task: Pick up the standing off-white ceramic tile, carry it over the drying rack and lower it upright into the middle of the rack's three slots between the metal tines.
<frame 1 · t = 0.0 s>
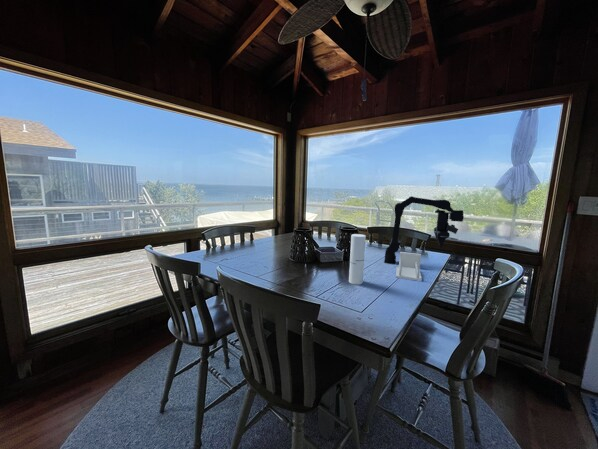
hand: (439, 245, 157), 15 cm above the table, fingers open, 9 cm apart
rack: (408, 274, 147), on the table
cylindrical container: (355, 282, 134), on the table
tile: (409, 267, 161), on the table
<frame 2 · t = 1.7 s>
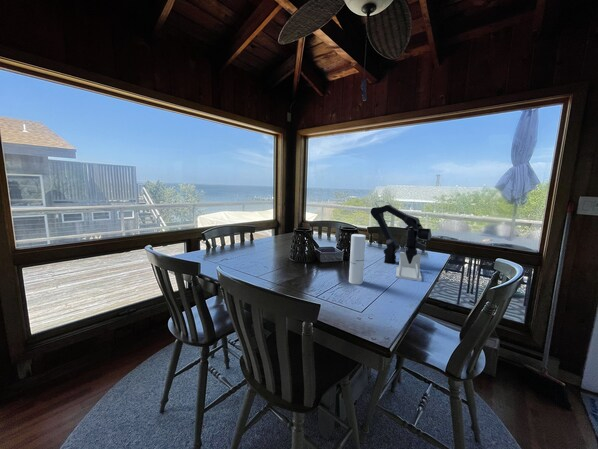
hand: (409, 261, 160), 3 cm above the table, fingers open, 9 cm apart
nothing on the table moved.
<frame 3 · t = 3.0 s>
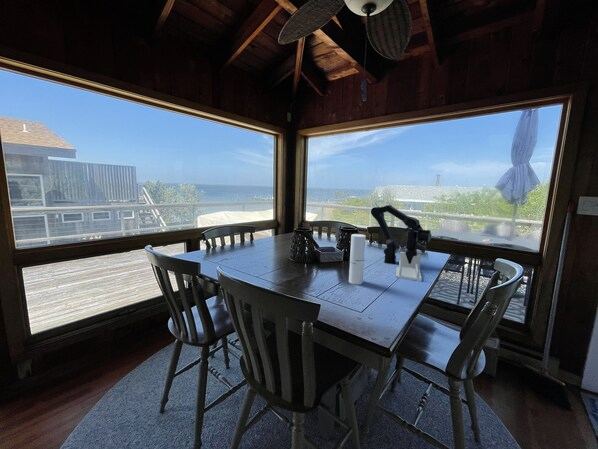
hand: (409, 263, 160), 3 cm above the table, fingers closed on tile, 2 cm apart
tile: (409, 266, 161), on the table, touching gripper
everything else where it was.
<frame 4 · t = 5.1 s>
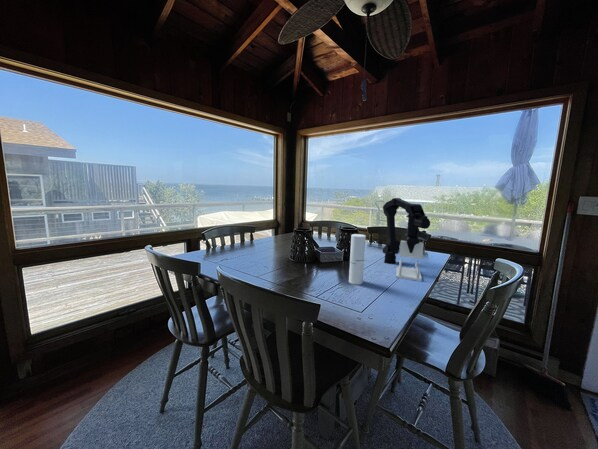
hand: (410, 252, 147), 12 cm above the table, fingers closed on tile, 2 cm apart
tile: (410, 257, 148), point 10 cm above the table, touching gripper
everything else where it was.
when the fingers open (5 cm above the table, at t = 7.1 s): tile drops 1 cm, resting on rack.
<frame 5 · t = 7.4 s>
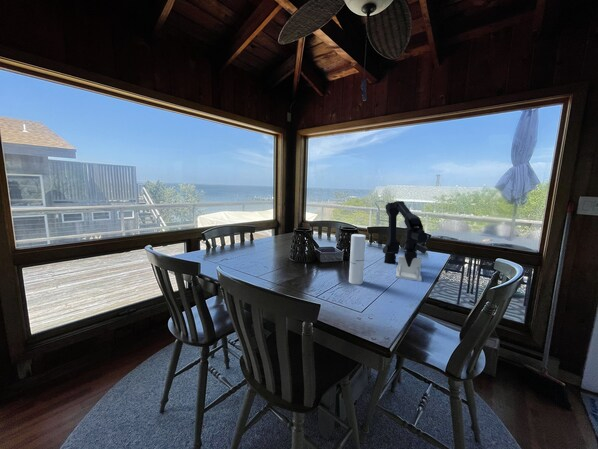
hand: (408, 265, 146), 5 cm above the table, fingers open, 5 cm apart
tile: (408, 272, 147), point 1 cm above the table, touching rack
everything else where it was.
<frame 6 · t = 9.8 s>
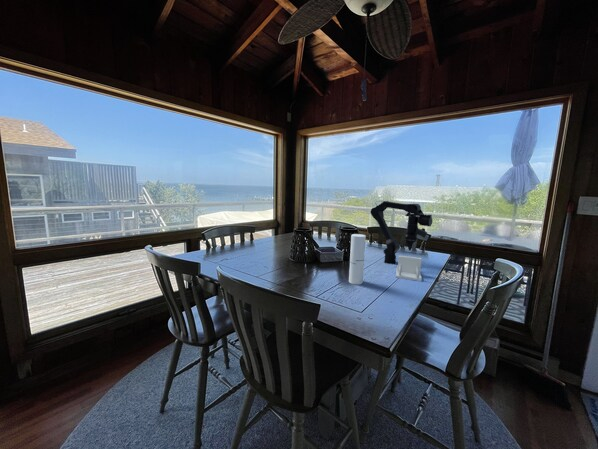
hand: (410, 248, 159), 12 cm above the table, fingers open, 9 cm apart
nothing on the table moved.
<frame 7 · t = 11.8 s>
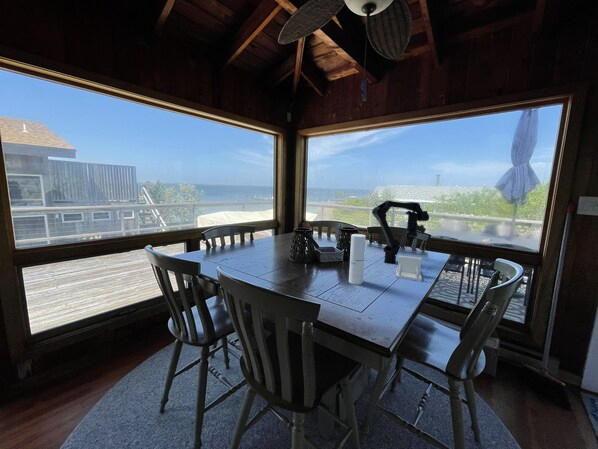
hand: (410, 244, 171), 12 cm above the table, fingers open, 9 cm apart
nothing on the table moved.
at the end: tile 0.1 cm off-centre on the rack, point 1.2 cm above the rack's base; tile tilted 0°; the gripper is holding nothing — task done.
